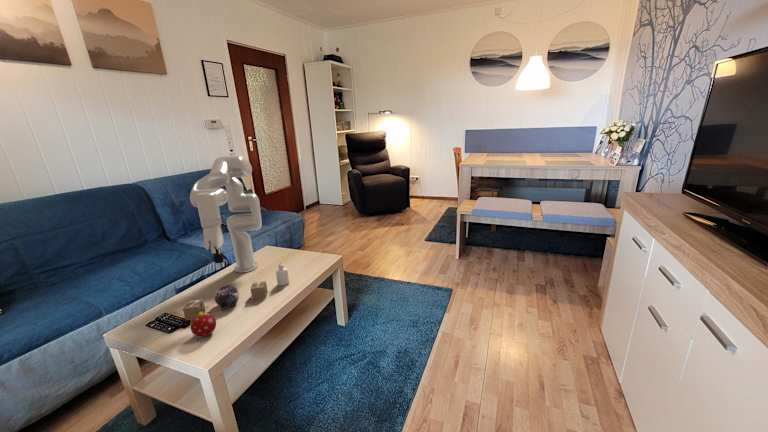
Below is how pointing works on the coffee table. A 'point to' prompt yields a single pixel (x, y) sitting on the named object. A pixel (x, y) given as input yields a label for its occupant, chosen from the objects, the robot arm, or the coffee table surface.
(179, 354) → the coffee table surface
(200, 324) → the christmas ornament
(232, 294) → the mineral specimen
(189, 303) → the brown cube
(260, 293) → the walnut block
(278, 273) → the eye dropper bottle
